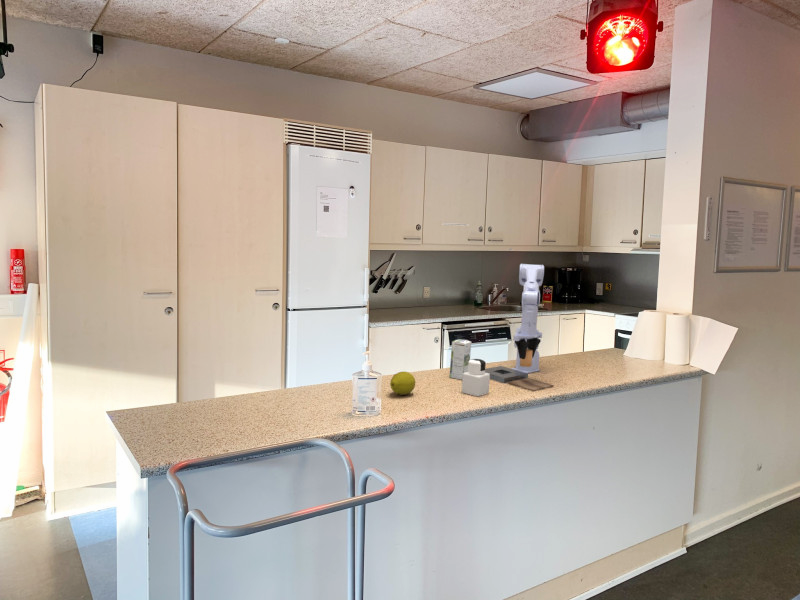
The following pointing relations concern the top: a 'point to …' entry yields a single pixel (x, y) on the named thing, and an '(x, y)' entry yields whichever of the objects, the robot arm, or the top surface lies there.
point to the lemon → (402, 383)
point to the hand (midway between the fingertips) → (526, 357)
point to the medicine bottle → (476, 378)
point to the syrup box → (459, 358)
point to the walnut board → (530, 384)
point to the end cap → (527, 359)
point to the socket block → (505, 374)
